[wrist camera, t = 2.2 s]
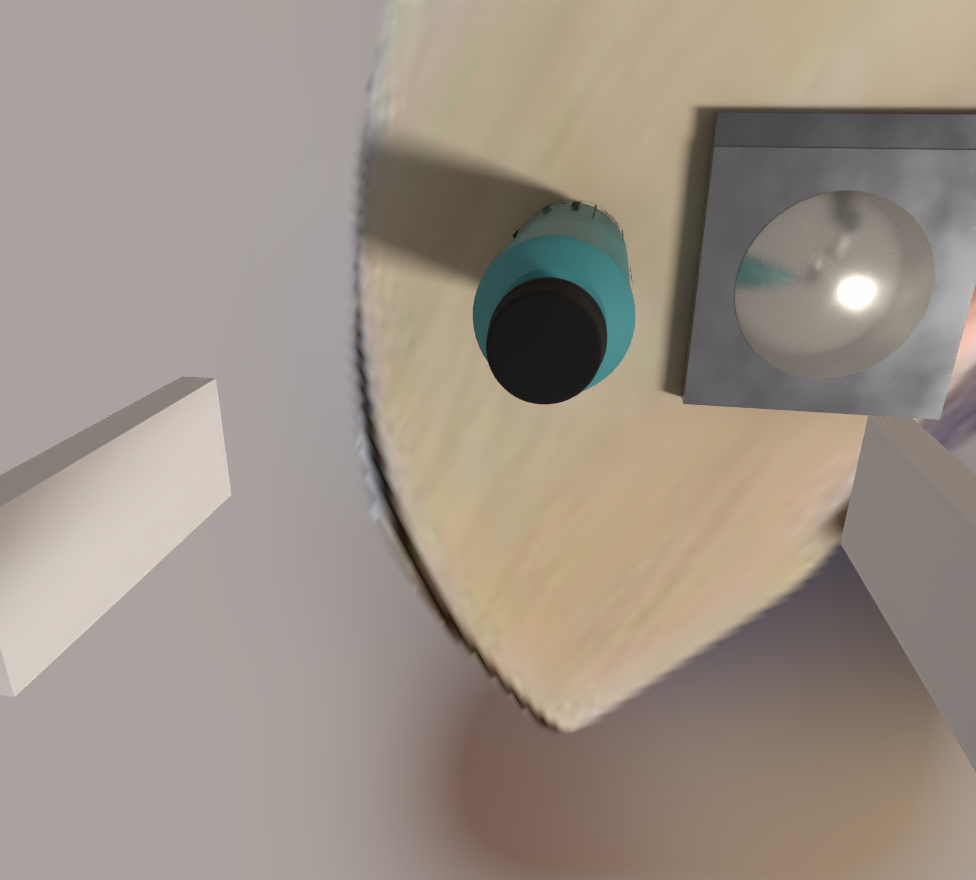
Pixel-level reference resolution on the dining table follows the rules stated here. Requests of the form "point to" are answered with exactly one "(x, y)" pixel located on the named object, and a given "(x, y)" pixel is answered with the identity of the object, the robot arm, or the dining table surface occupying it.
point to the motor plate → (834, 262)
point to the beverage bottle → (557, 305)
